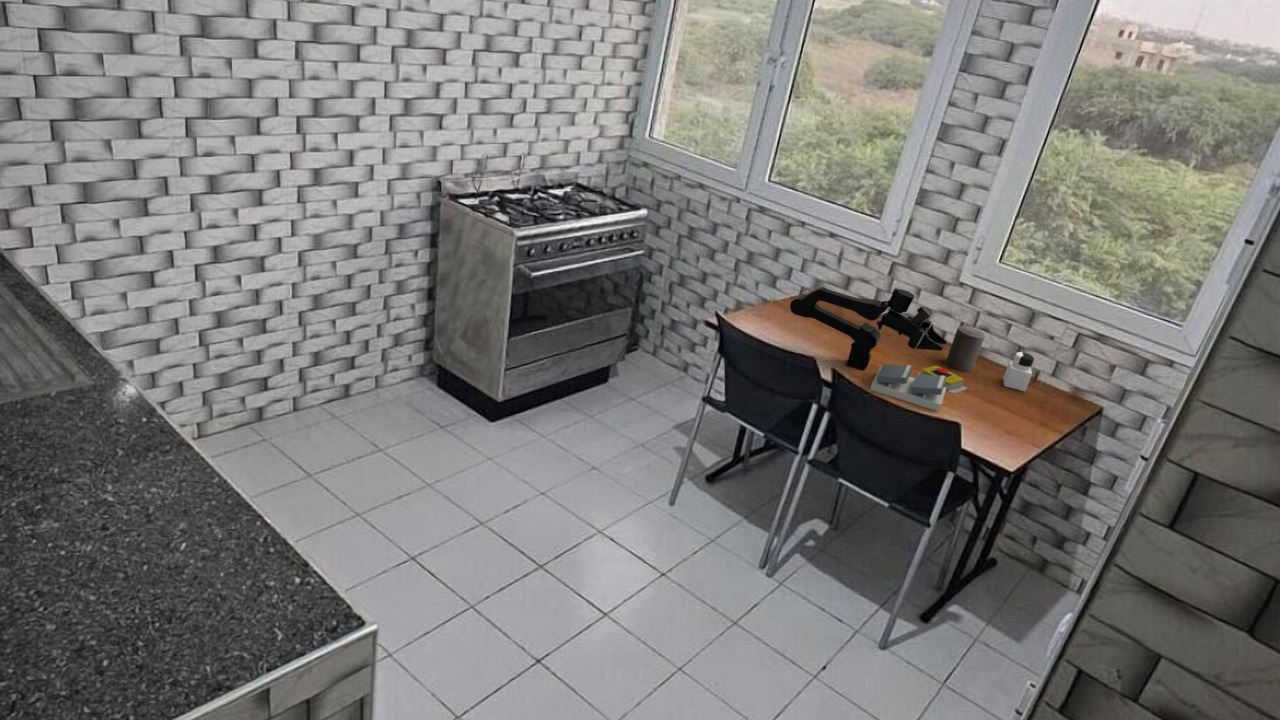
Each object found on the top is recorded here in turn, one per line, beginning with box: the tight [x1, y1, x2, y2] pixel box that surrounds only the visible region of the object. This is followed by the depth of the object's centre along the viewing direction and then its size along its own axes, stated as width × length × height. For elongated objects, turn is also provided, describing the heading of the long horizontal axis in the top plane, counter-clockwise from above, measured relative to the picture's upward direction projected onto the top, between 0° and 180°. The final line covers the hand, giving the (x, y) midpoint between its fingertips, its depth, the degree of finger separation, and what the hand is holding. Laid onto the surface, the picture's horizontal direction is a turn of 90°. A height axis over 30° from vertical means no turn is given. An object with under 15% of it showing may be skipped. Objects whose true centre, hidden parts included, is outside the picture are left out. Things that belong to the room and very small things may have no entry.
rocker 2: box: [911, 373, 946, 395], centre depth 270 cm, size 9×12×2 cm
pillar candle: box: [945, 325, 986, 373], centre depth 300 cm, size 10×10×15 cm
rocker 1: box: [877, 363, 913, 384], centre depth 273 cm, size 9×12×2 cm
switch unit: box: [869, 367, 947, 412], centre depth 274 cm, size 22×15×4 cm
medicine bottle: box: [1002, 351, 1035, 392], centre depth 292 cm, size 7×7×12 cm
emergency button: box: [917, 365, 968, 394], centre depth 287 cm, size 9×4×15 cm
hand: (944, 346), depth 273 cm, fingers open, 9 cm apart
